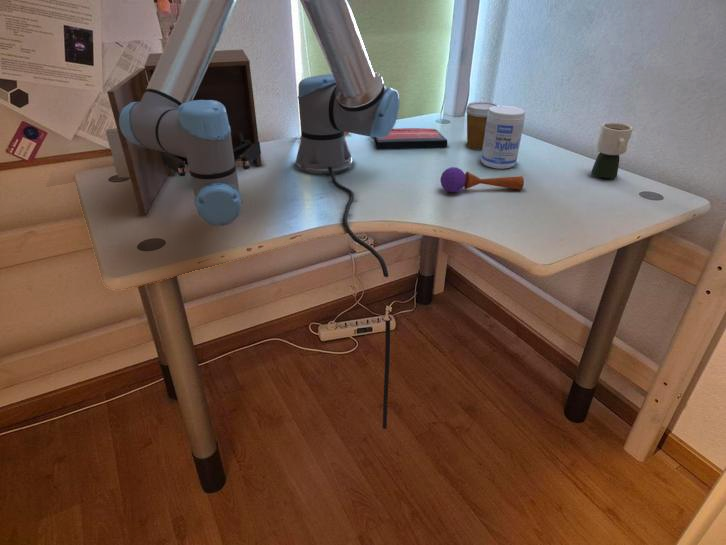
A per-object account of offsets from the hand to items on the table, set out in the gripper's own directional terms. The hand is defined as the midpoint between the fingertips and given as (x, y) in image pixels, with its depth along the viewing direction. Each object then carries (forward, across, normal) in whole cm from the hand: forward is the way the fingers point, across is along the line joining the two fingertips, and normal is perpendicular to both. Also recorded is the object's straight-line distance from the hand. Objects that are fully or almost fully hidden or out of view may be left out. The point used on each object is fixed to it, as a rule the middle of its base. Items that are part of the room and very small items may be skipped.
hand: (210, 141), depth 111 cm
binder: (+27, +59, -14) cm, 66 cm away
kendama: (-15, +61, -14) cm, 65 cm away
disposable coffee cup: (+15, +77, -14) cm, 79 cm away
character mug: (-16, +96, -14) cm, 99 cm away
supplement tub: (0, +75, -14) cm, 76 cm away
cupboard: (+14, -4, -13) cm, 20 cm away
